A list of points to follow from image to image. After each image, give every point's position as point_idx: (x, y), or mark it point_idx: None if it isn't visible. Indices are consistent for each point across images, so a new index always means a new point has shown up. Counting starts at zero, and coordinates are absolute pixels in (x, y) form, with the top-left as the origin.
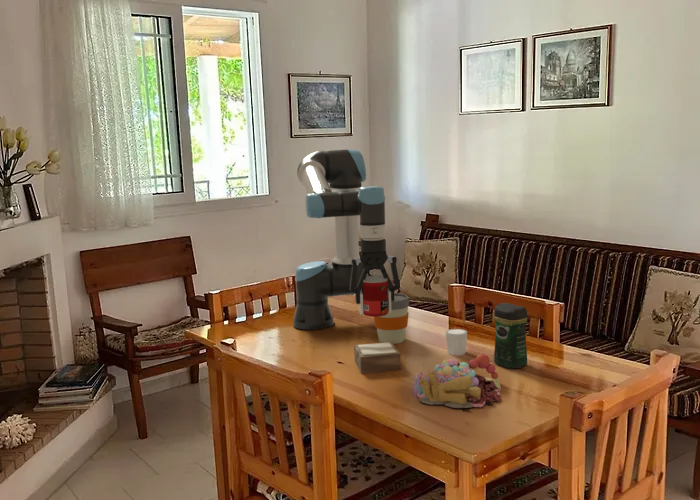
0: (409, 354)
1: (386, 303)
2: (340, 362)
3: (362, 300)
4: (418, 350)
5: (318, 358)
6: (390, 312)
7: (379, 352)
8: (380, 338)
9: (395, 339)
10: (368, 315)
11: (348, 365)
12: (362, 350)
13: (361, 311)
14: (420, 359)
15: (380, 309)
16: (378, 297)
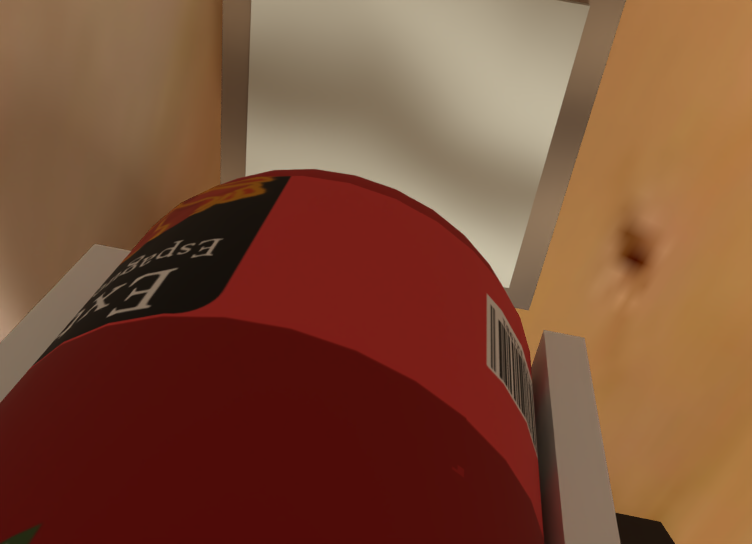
0: (126, 194)
1: (93, 300)
2: (631, 253)
3: (576, 535)
4: (55, 238)
5: (724, 380)
6: (107, 247)
7: (413, 7)
8: None
9: None
10: (488, 263)
11: (611, 172)
12: (537, 137)
13: (581, 374)
14: (69, 65)
15: (271, 214)
16: (224, 387)
